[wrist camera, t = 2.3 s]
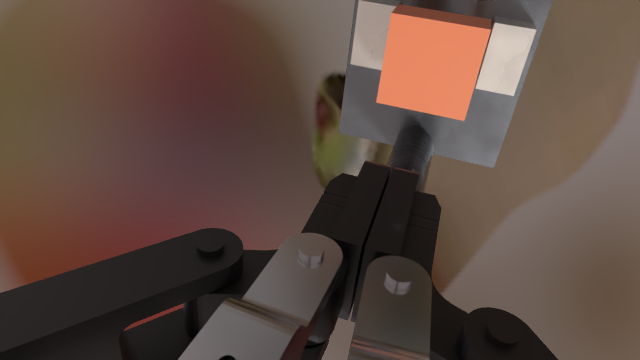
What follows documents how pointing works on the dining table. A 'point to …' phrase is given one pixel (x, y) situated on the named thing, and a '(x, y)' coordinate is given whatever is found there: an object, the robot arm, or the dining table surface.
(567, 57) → the dining table surface
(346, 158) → the dining table surface
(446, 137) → the twin post stand
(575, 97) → the dining table surface
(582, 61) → the dining table surface
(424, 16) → the button
